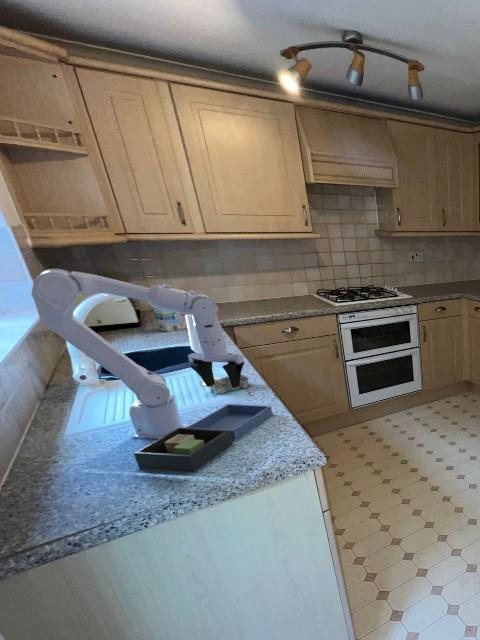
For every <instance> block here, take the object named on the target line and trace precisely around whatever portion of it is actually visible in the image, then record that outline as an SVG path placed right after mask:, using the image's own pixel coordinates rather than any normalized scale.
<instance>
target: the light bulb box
mask: <svg viewBox="0 0 480 640" xmlns="http://www.w3.org/2000/svg"><path fill="white" fill-rule="evenodd" d="M153 311H154V315H155V318H156V321H157V324H158V328H159V330H160V331H162V332H168V333H169V332H173V331H179V330H183V329H188V327H187V321H186V315H187V313H186V314H184V313H179V312H174V311H168V310H163V309H158V308H154V309H153Z"/></svg>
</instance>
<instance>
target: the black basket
mask: <svg viewBox="0 0 480 640" xmlns="http://www.w3.org/2000/svg"><path fill="white" fill-rule="evenodd" d="M178 434H184V435H194V438H195V440H204V444H205V445H203V446H202V447H200V448H199V449H197V450H196V451H194V452H193V453H191V454H190V455H180V454H168V452H167V449H166V446H165V443H164V442H166V441H167V440H169V439H171V438H173V437H174V436H176V435H178ZM233 445H234V443H233V439H231V436H230V432H229V430H213V429H195V428H178V429H176V430H174V431H172V432H171V433H169V434H167V435H165V436H163V437H162V438H157V440H155V441H153V442H151V443H149V444H147V445H146V446H144V447H142V448H140V449H138V450H136V451H134V452H133V455H134V457H135V462H136V463H137V466H138V468H139V469H141V470H158V471H171V472H173V471H174V472H191V473H195V472H196V471H198V470H199V469H201V468H202V467H204V466H205V465H206V464H207V463H209V462H210V461H212V460H213V459H215V458H216V457H217V456H219V455H221V454H222V453H223V452H224V451H226V450H228V449H229V448H230V447H232V446H233Z"/></svg>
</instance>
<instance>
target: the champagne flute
mask: <svg viewBox="0 0 480 640" xmlns="http://www.w3.org/2000/svg"><path fill="white" fill-rule="evenodd" d="M186 321H187V327H188V328H187V332H188V338H189V344H190V349H191V350H192V351H193V353H201V350H200V346H199V343H198V339H197V336H196V332H195V328H194V321H193V317H192V313H186ZM212 372H213V370H212ZM213 373H214V372H213ZM214 375H215V374H213V377H214V380H218V379H221V378H222V377H217V376H214ZM201 386H206V384H205V383H204V381H203V382H201ZM206 387H207V386H206Z"/></svg>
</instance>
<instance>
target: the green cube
mask: <svg viewBox="0 0 480 640" xmlns="http://www.w3.org/2000/svg"><path fill="white" fill-rule="evenodd" d="M203 445H205V444H204V440H193V439H187V440H186V441H184V442H182V443H181V444H179V445H177V446H176V447H174V450H175V453H176V454H180V455H190V454H191V453H193V452H194V451H196V450H197V449H199V448H200V447H202V446H203Z"/></svg>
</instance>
